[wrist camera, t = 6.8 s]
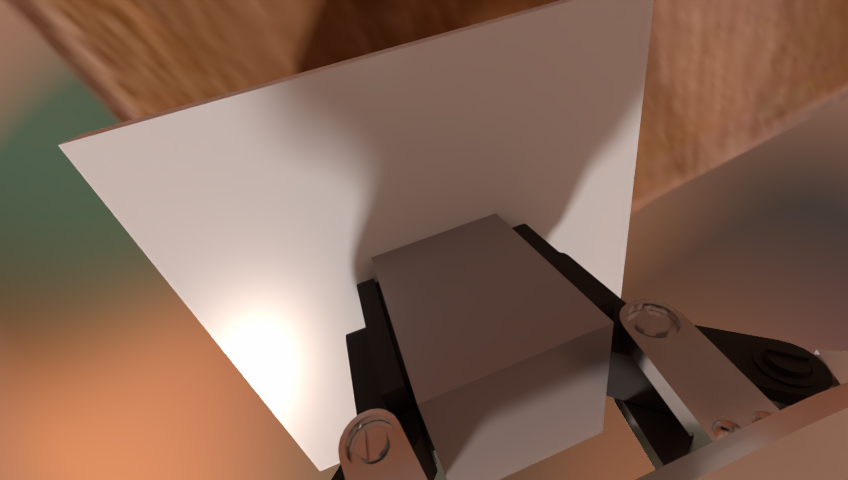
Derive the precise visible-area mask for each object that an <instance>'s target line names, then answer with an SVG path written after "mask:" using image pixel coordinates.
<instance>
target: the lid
mask: <svg viewBox="0 0 848 480" xmlns="http://www.w3.org/2000/svg"><path fill="white" fill-rule="evenodd" d="M653 4H654V0H560V1H556V2H552V3H549V4H545V5H542V6H538V7H534V8H531V9H527V10H524V11H520V12H517V13H513V14H509V15H506V16H502V17H499V18H495V19H492V20H488V21H484V22H481V23H477V24H474V25H470V26H466V27H463V28H459V29H456V30H452V31H449V32H445V33H441V34H438V35H434V36H431V37H427V38H424V39H420V40H416V41H413V42H409V43H406V44H402V45H399V46H395V47H391V48H388V49H384V50H381V51H377V52H373V53H370V54H366V55H363V56H359V57H356V58H352V59H348V60H345V61H341V62H338V63H334V64H331V65H327V66H323V67H320V68H316V69H313V70H309V71H305V72H302V73H298V74H295V75H291V76H288V77H284V78H280V79H277V80H273V81H270V82H266V83H263V84H259V85H255V86H252V87H248V88H245V89H241V90H237V91H234V92H230V93H227V94H223V95H220V96H216V97H212V98H209V99H205V100H202V101H198V102H195V103H191V104H187V105H184V106H180V107H177V108H173V109H169V110H166V111H162V112H159V113H155V114H152V115H148V116H144V117H141V118H137V119H134V120H130V121H127V122H123V123H119V124H116V125H112V126H109V127H106V128H102V129H98V130H95V131H91V132H87V133H84V134H81V135H79V136H77V137H75V138H73V139H71V140H68V141H66V142H64V143H62V144H60V145H58V146H59V147H60V148H61V150H62V151H63V152H64V153H65V155H66V156H67V157H68V158H69V160H70V161H71V162H72V163H73V165H74V166H75V167H76V168H77V169H78V171H79V172H80V173H81V174H82V176H83V177H84V178H85V180H86V181H87V182H88V183H89V184H90V186H91V187H92V188H93V190H94V191H95V192H96V193H97V194H98V196H99V197H100V198H101V199H102V201H103V202H104V203H105V204H106V206H107V207H108V208H109V209H110V211H111V212H112V213H113V214H114V216H115V217H116V218H117V219H118V220H119V222H120V223H121V224H122V225H123V227H124V228H125V229H126V231H127V232H128V233H129V234H130V236H131V237H132V238H133V239H134V241H135V242H136V243H137V244H138V245H139V247H140V248H141V249H142V250H143V252H144V253H145V254H146V255H147V257H148V258H149V259H150V260H151V262H152V263H153V264H154V265H155V267H156V268H157V269H158V270H159V272H160V273H161V274H162V275H163V277H164V278H165V279H166V280H167V281H168V283H169V284H170V285H171V287H172V288H173V289H174V290H175V291H176V293H177V294H178V295H179V297H180V298H181V299H182V300H183V301H184V303H185V304H186V305H187V306H188V307H189V309H190V310H191V311H192V313H193V314H194V315H195V316H196V318H197V319H198V320H199V321H200V323H201V324H202V325H203V326H204V327H205V329H206V330H207V331H208V332H209V334H210V335H211V336H212V338H213V339H214V340H215V341H216V343H217V344H218V345H219V346H220V348H221V349H222V350H223V351H224V353H225V354H226V355H227V356H228V357H229V359H230V360H231V361H232V362H233V364H234V365H235V366H236V367H237V369H238V370H239V371H240V372H241V373H242V375H243V376H244V377H245V378H246V380H247V381H248V382H249V384H250V385H251V386H252V387H253V388H254V390H255V391H256V392H257V394H258V395H259V396H260V397H261V399H262V400H263V401H264V402H265V403H266V405H267V406H268V407H269V409H270V410H271V411H272V412H273V413H274V415H275V416H276V417H277V418H278V420H279V421H280V422H281V423H282V425H283V426H284V427H285V428H286V430H287V431H288V432H289V433H290V435H291V436H292V437H293V438H294V440H295V441H296V442H297V443H298V445H299V446H300V447H301V448H302V450H303V451H304V452H305V453H306V455H307V456H308V457H309V458H310V459H311V461H312V462H313V463H314V464H315V466H316V467H317V468H318V469H319V471H322V470H324V469H327V468H329V467H331V466H333V465H336V464H338V463H340V460H339V453H338V447H339V441H340V437H341V435H342V433H343V431H344V429H345V428H346V426H347V425H348V424H349V423H350V421H351V420H352V419H354V418H355V417H356V416H357V414H356V407H355V400H354V393H353V386H352V379H351V372H350V366H349V359H348V352H347V345H346V334H349V333H352V332H354V331H357V330H359V329H362V328H365V322H364V317H363V313H362V308H361V304H360V299H359V295H358V290H357V284H359V283H361V282H364V281H367V280H370V279H372V278H374V280H375V282H378V281H379V284H380V287H381V290H382V293H383V296H384V300H385V303H386V306H387V309H388V312H389V316H390V319H391V322H392V325H393V328H394V332H395V335H396V338H397V341H398V344H399V348H400V351H401V354H402V357H403V360H404V364H405V367H406V370H407V373H408V376H409V380H410V383H411V386H412V389H413V392H414V396H415V399H416V402H417V405H418V408H419V410H420V413H421V415H422V418H423V420H424V423H425V425H426V428H427V430H428V433H429V435H430V438H431V440H432V443H433V445H434V448H435V450H436V453H437V455H438V458H439V460H440V462H441V465H442V468H443V470H444V473H445V475H446V477H447V480H499V479H502V478H504V477H506V476H508V475H510V474H512V473H515V472H517V471H519V470H521V469H523V468H525V467H527V466H530V465H532V464H534V463H536V462H538V461H540V460H543V459H545V458H547V457H549V456H551V455H554V454H556V453H558V452H560V451H562V450H564V449H567V448H569V447H571V446H573V445H575V444H577V443H580V442H582V441H584V440H586V439H588V438H591V437H593V436H595V435H597V434H599V433H601V432H602V431H603V421H604V411H605V402H606V392H607V383H608V373H609V363H610V353H611V344H612V334H613V324H614V322H613V321H612V320H611V319H610V318H609V317H607V316H606V315H605V314H604V313H603V312H602V311H601V310H600V309H599V308H598V307H597V306H596V305H594V304H593V303H592V302H591V301H590V300H589V299H588V298H587V297H586V296H585V295H584V294H583V293H581V292H580V291H579V290H578V289H577V288H576V287H575V286H574V285H573V284H572V283H571V282H570V281H568V280H567V279H566V278H565V277H564V276H563V275H562V274H561V273H560V272H559V271H558V270H557V269H555V268H554V267H553V266H552V265H551V264H550V263H549V262H548V261H547V260H546V259H545V258H544V257H542V256H541V255H540V254H539V253H538V252H537V251H536V250H535V249H534V248H533V247H532V246H531V245H529V244H528V243H527V242H526V241H525V240H524V239H523V238H522V237H521V236H520V235H519V234H518V233H516V232H515V231H514V230H513V229H512V227H515V226H518V225H521V224H527V225H528V226H529V227H530V228H531V229H533V230H534V231H535V232H536V233H537V234H538V235H540V236H541V237H542V238H543V239H544V240H546V241H547V242H548V243H549V244H550V245H551V246H553V247H554V248H555V249H556V250H557V251H559V252H560V253H561V252H562V253H566V254H567V255H569V256H570V257H571V258H572V259H574V260H575V261H576V262H577V263H578V264H580V265H581V266H582V267H583V268H584V269H586V270H587V271H588V272H589V273H590V274H592V275H593V276H594V277H595V278H596V279H598V280H599V281H600V282H601V283H602V284H604V285H605V286H606V287H607V288H609V289H610V290H611V291H612V292H613V293H615V294H616V295H617V296H618V297H619V298H621V289H622V281H623V272H624V263H625V254H626V245H627V236H628V227H629V219H630V210H631V201H632V192H633V183H634V174H635V165H636V156H637V147H638V138H639V129H640V120H641V111H642V102H643V93H644V84H645V75H646V66H647V57H648V48H649V40H650V31H651V22H652V13H653Z"/></svg>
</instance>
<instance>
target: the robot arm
mask: <svg viewBox="0 0 848 480" xmlns="http://www.w3.org/2000/svg"><path fill="white" fill-rule="evenodd" d="M512 229H513V230H514V231H515V232H516V233H518V234H519V235H520V236H521V237H522V238H523V239H524V240H525V241H526V242H527V243H528V244H529V245H531V246H532V247H533V248H534V249H535V250H536V251H537V252H538V253H539V254H540V255H541V256H542V257H544V258H545V259H546V260H547V261H548V262H549V263H550V264H551V265H552V266H553V267H554V268H555V269H557V270H558V271H559V272H560V273H561V274H562V275H563V276H564V277H565V278H566V279H567V280H568V281H570V282H571V283H572V284H573V285H574V286H575V287H576V288H577V289H578V290H579V291H580V292H581V293H583V294H584V295H585V296H586V297H587V298H588V299H589V300H590V301H591V302H592V303H593V304H594V305H596V306H597V307H598V308H599V309H600V310H601V311H602V312H603V313H604V314H605V315H606V316H607V317H609V318H610V319H611V320H612V321H613V322H614V324H613V334H612V344H611V353H610V363H609V373H608V383H607V392H606V395H607V396H610V397H613V400H614V402H615V403H616V405H617V407H618V408H619V410H620V412H621V413H622V415H623V417H624V418H625V420H626V422H627V423H628V425H629V427H630V428H631V430H632V432H633V433H634V435H635V437H636V438H637V440H638V442H639V443H640V445H641V447H642V448H643V450H644V452H645V453H646V455H647V457H648V458H649V460H650V461H651V463H652V465H653V466H654V468H655V470H654V471H653V472H650V473H648V474H646V475H644V476H642V477H640V478H638V479H636V480H848V352H843V351H829V350H816V352H815V354H812V353H810V352H809V351H807V350H805V349H803V348H801V347H798V346H796V345H794V344H791V343H787V342H783V341H779V340H774V339H769V338H763V337H758V336H752V335H747V334H741V333H735V332H730V331H724V330H719V329H713V328H707V327H701V326H696V325H693V324H692V323H691V322H690V321H689V320H688V319H687V318H686V317H685V316H684V315H683V314H682V313H681V312H680V311H678V310H677V309H676V308H675V307H673V306H671V305H669V304H667V303H664V302H661V301H657V300H651V299H640V300H634V301H631V302H629V303H625V302H624V301H623V300H622V299H621V298H619V297H618V296H617V295H616V294H615V293H613V292H612V291H611V290H610V289H609V288H607V287H606V286H605V285H604V284H602V283H601V282H600V281H599V280H598V279H596V278H595V277H594V276H593V275H592V274H590V273H589V272H588V271H587V270H586V269H584V268H583V267H582V266H581V265H580V264H578V263H577V262H576V261H575V260H574V259H572V258H571V257H570V256H569V255H567V254H566V253H562V252H561V253H560V252H559V251H557V250H556V249H555V248H554V247H553V246H551V245H550V244H549V243H548V242H547V241H546V240H544V239H543V238H542V237H541V236H540V235H538V234H537V233H536V232H535V231H534V230H533V229H531V228H530V227H529V226H528V225H527V224H521V225H518V226H515V227H512ZM357 290H358V295H359V299H360V304H361V308H362V313H363V317H364V322H365V328H362V329H359V330H357V331H354V332H352V333H349V334H346V345H347V352H348V359H349V366H350V372H351V379H352V386H353V393H354V400H355V407H356V414H357V416H356V417H355V418H354V419H352V420H351V421H350V423H349V424H348V425H347V426H346V428H345V429H344V431H343V433H342V435H341V437H340V441H339V447H338V453H339V460H340V463H341V465H340V466H339V468H338V470H337V471H336V473H335V475H334V476H333V478H332V479H331V480H434V478H435V476H436V473H437V468H436V464H437V462H436V459H435V456H434V453H433V451H434V450H435V448H434V445H433V443H432V440H431V438H430V435H429V433H428V430H427V428H426V425H425V423H424V420H423V418H422V415H421V413H420V410H419V408H418V405H417V402H416V399H415V396H414V392H413V389H412V386H411V383H410V380H409V376H408V373H407V370H406V367H405V364H404V360H403V357H402V354H401V351H400V348H399V344H398V341H397V338H396V335H395V332H394V328H393V325H392V322H391V319H390V316H389V312H388V309H387V306H386V303H385V300H384V296H383V293H382V290H381V287H380V284H379V281H378V282H375V280H374V278H372V279H370V280H367V281H364V282H361V283H359V284H357Z"/></svg>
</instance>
